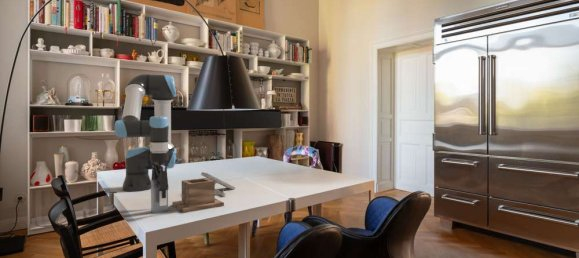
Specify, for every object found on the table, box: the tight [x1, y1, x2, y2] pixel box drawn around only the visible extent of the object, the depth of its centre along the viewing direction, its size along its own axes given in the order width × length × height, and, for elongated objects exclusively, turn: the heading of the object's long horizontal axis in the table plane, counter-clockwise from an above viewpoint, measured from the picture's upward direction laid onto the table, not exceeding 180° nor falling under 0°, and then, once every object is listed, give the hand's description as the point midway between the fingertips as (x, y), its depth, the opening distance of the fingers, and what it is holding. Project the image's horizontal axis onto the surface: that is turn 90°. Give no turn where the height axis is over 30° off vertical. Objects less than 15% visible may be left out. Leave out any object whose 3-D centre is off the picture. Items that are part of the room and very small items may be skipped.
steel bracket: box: [150, 178, 169, 214], centre depth 141 cm, size 4×6×14 cm, turn 127°
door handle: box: [200, 171, 236, 198], centre depth 176 cm, size 18×8×20 cm
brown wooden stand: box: [172, 177, 225, 214], centre depth 151 cm, size 15×19×12 cm
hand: (159, 202), depth 141 cm, fingers open, 10 cm apart
